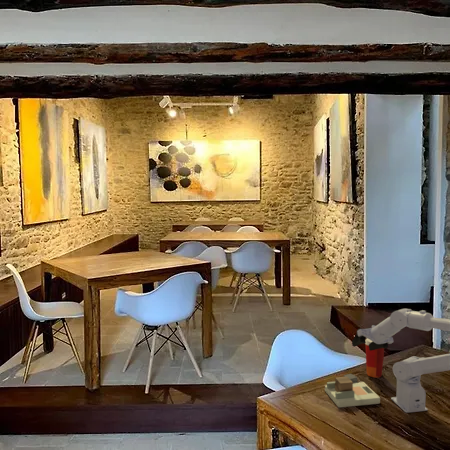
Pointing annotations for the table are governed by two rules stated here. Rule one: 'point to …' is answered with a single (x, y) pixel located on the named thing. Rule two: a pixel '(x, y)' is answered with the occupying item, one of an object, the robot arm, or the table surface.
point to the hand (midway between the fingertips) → (361, 346)
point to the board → (352, 395)
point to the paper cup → (374, 360)
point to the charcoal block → (351, 377)
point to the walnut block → (343, 384)
